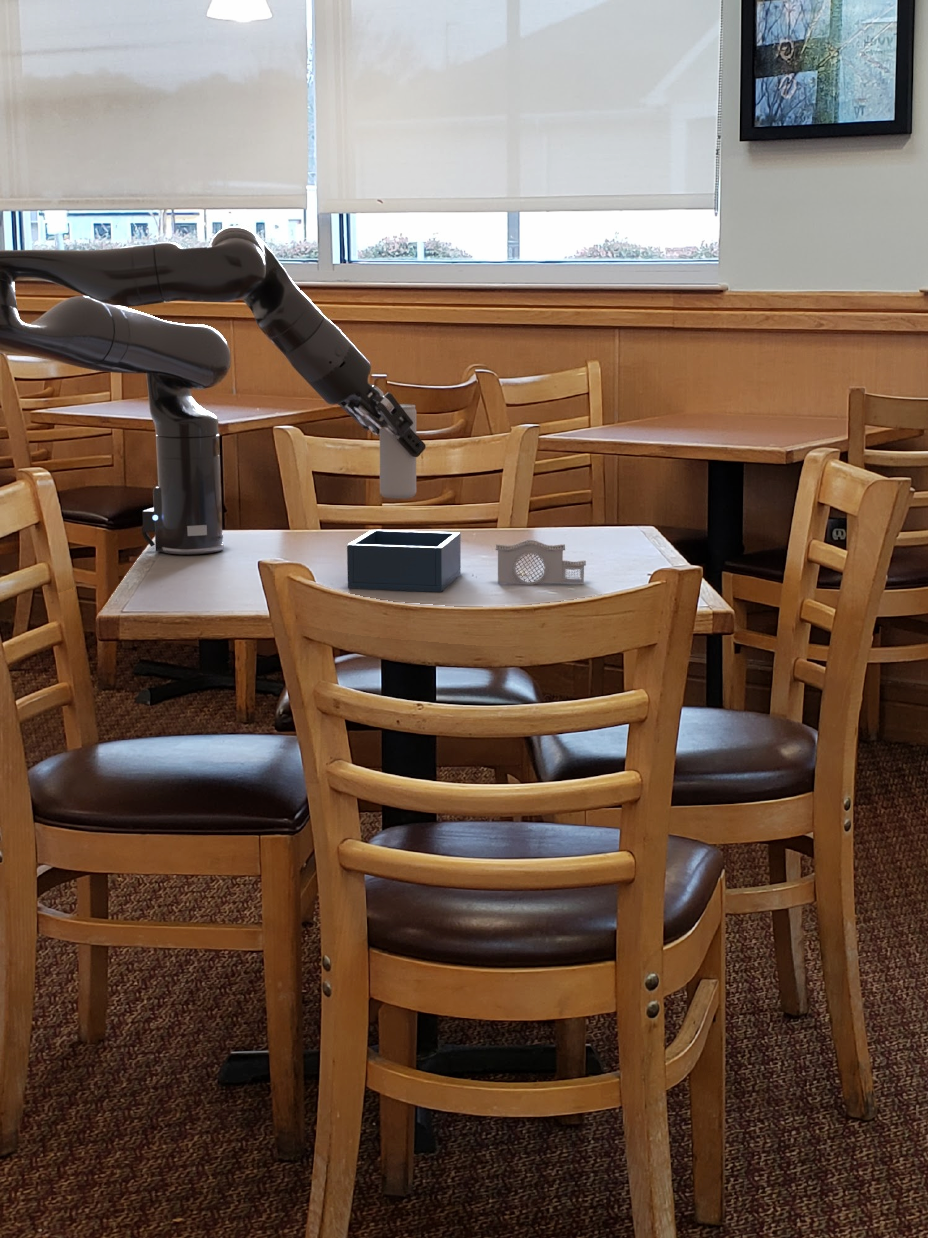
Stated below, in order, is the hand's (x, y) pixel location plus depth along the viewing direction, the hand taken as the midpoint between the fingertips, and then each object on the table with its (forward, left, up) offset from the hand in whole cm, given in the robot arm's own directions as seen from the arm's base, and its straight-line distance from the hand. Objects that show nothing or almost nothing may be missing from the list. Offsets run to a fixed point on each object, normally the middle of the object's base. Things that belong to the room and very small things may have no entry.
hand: (410, 449), depth 194 cm
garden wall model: (+17, +1, -18) cm, 25 cm away
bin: (-1, -1, -18) cm, 18 cm away
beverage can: (-2, -1, -6) cm, 7 cm away
